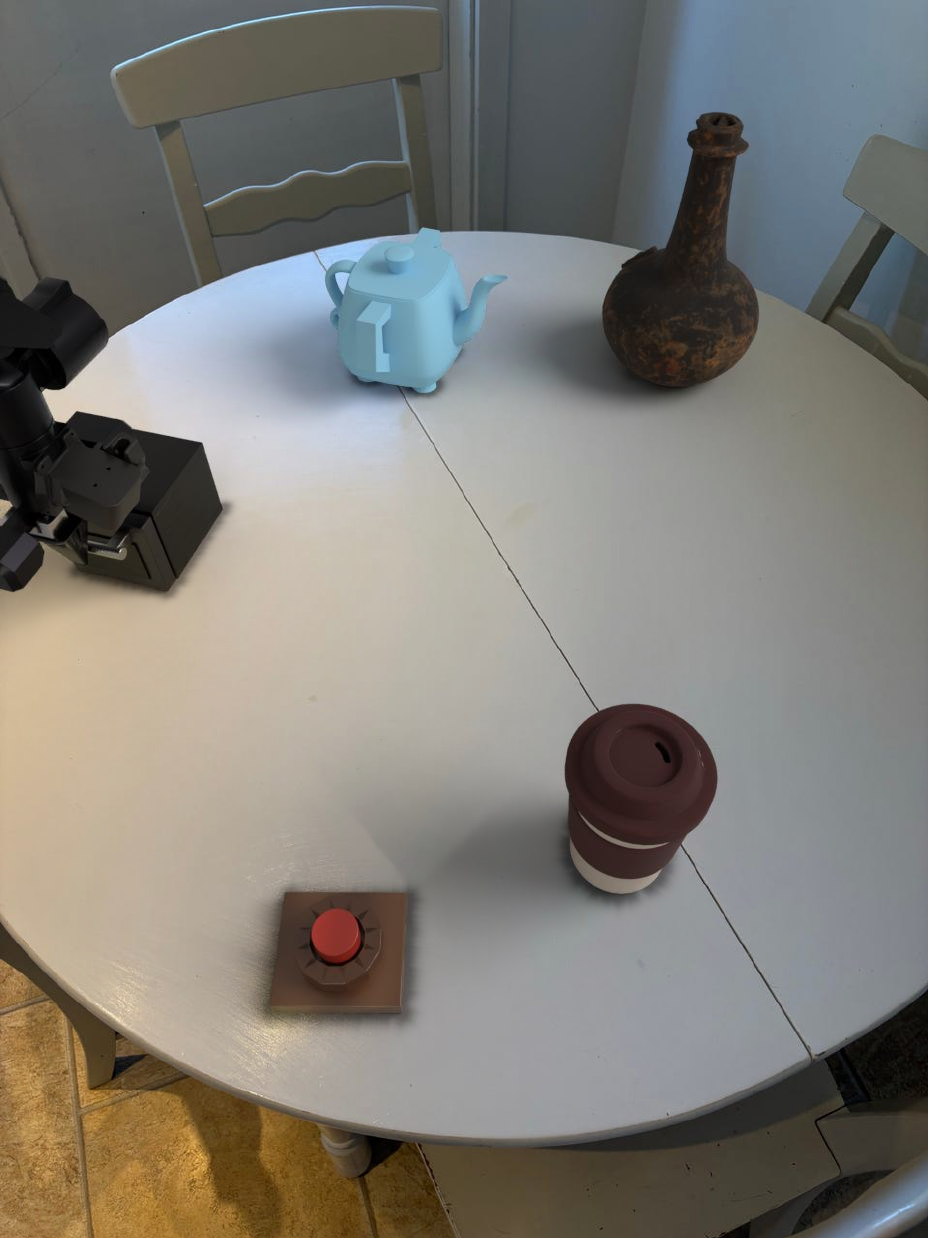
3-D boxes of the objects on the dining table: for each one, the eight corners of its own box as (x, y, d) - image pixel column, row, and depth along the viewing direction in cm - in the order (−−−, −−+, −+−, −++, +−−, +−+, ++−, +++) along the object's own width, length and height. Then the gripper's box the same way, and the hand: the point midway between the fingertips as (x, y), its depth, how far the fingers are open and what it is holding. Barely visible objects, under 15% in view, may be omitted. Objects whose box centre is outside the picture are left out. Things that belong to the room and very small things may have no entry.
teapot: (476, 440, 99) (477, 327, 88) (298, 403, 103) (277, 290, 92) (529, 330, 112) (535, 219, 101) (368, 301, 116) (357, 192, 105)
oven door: (155, 612, 84) (126, 549, 77) (62, 589, 86) (26, 527, 79) (176, 579, 86) (150, 516, 80) (85, 558, 88) (53, 495, 81)
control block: (273, 1013, 62) (263, 998, 59) (288, 900, 67) (280, 882, 64) (402, 1013, 62) (399, 999, 59) (407, 900, 67) (404, 882, 64)
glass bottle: (666, 303, 115) (711, 64, 93) (775, 368, 107) (854, 121, 85) (565, 356, 108) (588, 111, 86) (673, 430, 100) (730, 178, 78)
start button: (312, 963, 61) (308, 955, 59) (317, 917, 63) (313, 908, 61) (359, 964, 61) (356, 955, 59) (362, 917, 63) (360, 908, 61)
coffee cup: (541, 896, 67) (555, 805, 55) (563, 781, 73) (580, 677, 61) (674, 927, 65) (718, 840, 53) (686, 807, 71) (727, 705, 59)
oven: (177, 578, 87) (151, 513, 80) (87, 558, 88) (54, 491, 81) (223, 509, 93) (202, 442, 86) (137, 490, 94) (110, 423, 87)
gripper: (35, 529, 61) (107, 665, 73) (168, 372, 72) (211, 513, 84) (-103, 498, 63) (-11, 635, 75) (48, 350, 74) (107, 490, 86)
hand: (82, 565), depth 80 cm, fingers closed
